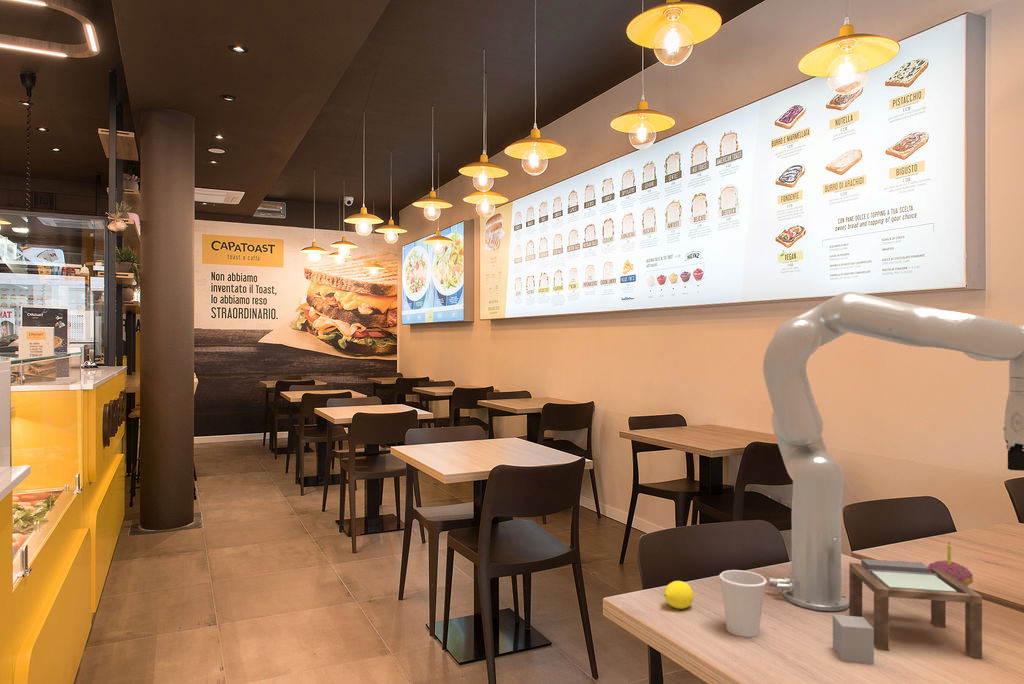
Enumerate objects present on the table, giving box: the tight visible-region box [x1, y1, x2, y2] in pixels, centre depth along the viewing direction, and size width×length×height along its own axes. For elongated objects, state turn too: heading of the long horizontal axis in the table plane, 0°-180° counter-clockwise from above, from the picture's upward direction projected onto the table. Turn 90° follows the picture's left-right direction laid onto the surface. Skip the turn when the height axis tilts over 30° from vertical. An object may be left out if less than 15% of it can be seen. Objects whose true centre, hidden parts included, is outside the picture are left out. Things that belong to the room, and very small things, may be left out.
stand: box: [848, 562, 983, 659], centre depth 120 cm, size 17×15×11 cm
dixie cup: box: [719, 569, 768, 638], centre depth 122 cm, size 8×8×10 cm
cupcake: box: [927, 541, 974, 587], centre depth 142 cm, size 9×8×12 cm
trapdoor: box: [860, 558, 957, 593], centre depth 122 cm, size 12×14×3 cm
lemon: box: [663, 580, 695, 610], centre depth 132 cm, size 7×5×5 cm
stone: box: [832, 614, 875, 665], centre depth 112 cm, size 5×5×6 cm
